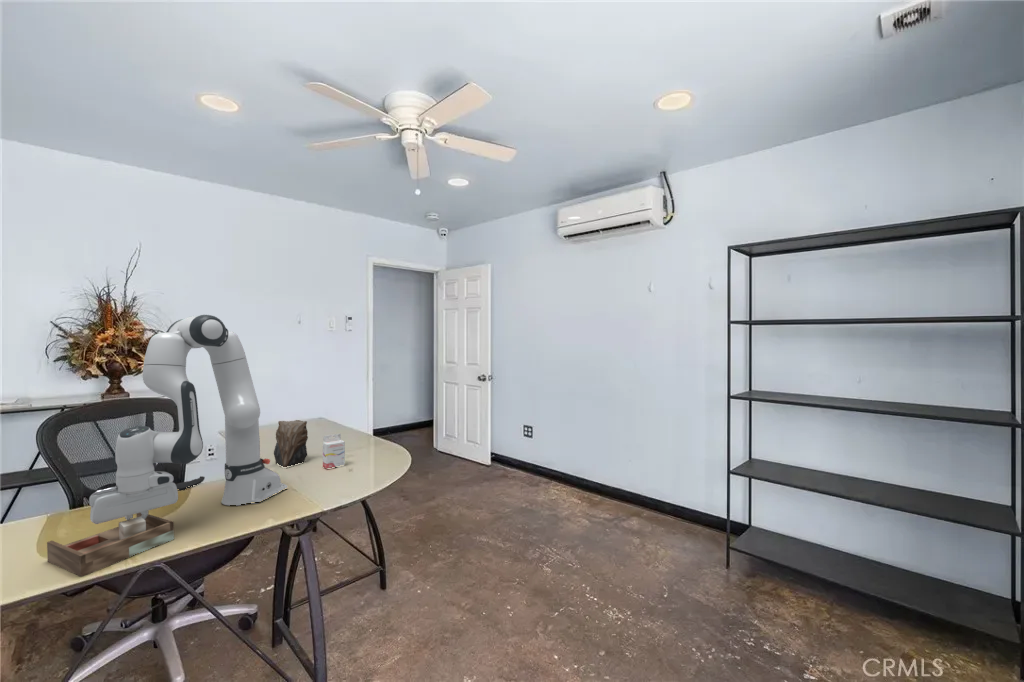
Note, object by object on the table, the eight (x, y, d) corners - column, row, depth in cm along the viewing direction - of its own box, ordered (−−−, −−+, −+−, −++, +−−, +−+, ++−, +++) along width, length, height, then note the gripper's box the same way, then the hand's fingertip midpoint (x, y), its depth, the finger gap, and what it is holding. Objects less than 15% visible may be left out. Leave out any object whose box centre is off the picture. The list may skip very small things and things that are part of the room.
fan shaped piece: (213, 481, 188) (213, 477, 188) (182, 492, 175) (181, 488, 175) (198, 479, 190) (198, 475, 190) (165, 490, 177) (165, 486, 177)
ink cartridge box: (326, 470, 201) (326, 438, 200) (322, 467, 204) (322, 436, 204) (345, 466, 206) (344, 434, 206) (341, 463, 210) (340, 432, 210)
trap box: (140, 528, 143) (140, 511, 143) (174, 539, 136) (173, 521, 136) (47, 561, 123) (47, 542, 123) (81, 576, 116) (80, 556, 116)
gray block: (140, 532, 134) (140, 516, 134) (146, 537, 131) (145, 520, 131) (119, 539, 130) (118, 522, 130) (124, 544, 127) (123, 527, 127)
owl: (272, 463, 210) (272, 421, 210) (300, 457, 220) (299, 417, 219) (283, 469, 202) (282, 425, 201) (311, 462, 211) (310, 421, 210)
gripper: (91, 494, 123) (93, 543, 124) (179, 474, 140) (180, 518, 140) (86, 489, 127) (87, 537, 128) (172, 470, 144) (173, 513, 144)
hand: (137, 527), depth 134 cm, fingers closed
